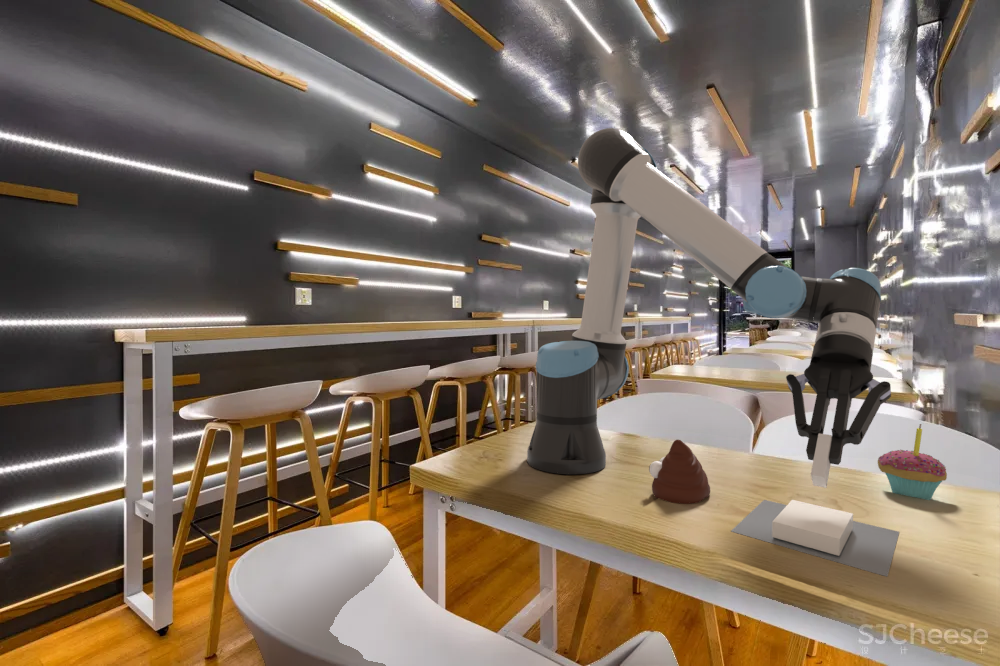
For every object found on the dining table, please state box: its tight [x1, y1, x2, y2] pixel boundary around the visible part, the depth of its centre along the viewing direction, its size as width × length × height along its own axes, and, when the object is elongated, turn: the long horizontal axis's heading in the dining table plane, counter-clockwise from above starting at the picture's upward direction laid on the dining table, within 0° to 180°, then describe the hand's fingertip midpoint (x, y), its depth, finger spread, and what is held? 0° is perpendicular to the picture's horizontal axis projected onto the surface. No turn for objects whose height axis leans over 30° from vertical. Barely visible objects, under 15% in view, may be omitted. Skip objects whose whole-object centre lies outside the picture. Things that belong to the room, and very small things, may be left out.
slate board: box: [730, 499, 900, 578], centre depth 63 cm, size 16×15×1 cm
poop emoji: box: [648, 439, 711, 505], centre depth 77 cm, size 10×8×9 cm
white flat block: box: [772, 499, 854, 556], centre depth 62 cm, size 7×2×10 cm
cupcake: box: [877, 423, 948, 501], centre depth 78 cm, size 9×8×12 cm
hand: (818, 481), depth 64 cm, fingers closed
